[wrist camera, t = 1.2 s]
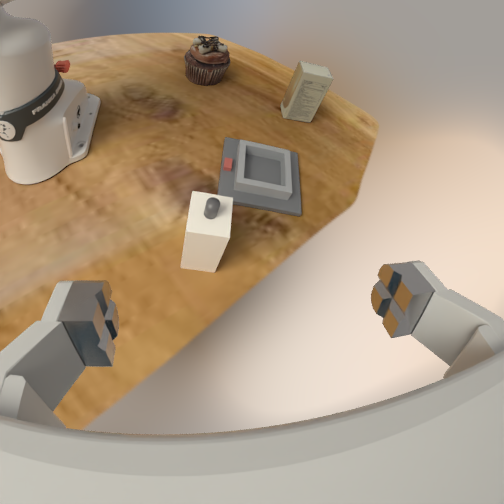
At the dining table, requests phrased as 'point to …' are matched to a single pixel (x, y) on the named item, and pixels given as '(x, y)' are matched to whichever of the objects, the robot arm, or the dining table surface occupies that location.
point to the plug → (206, 231)
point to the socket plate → (260, 176)
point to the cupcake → (206, 61)
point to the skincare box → (305, 91)
